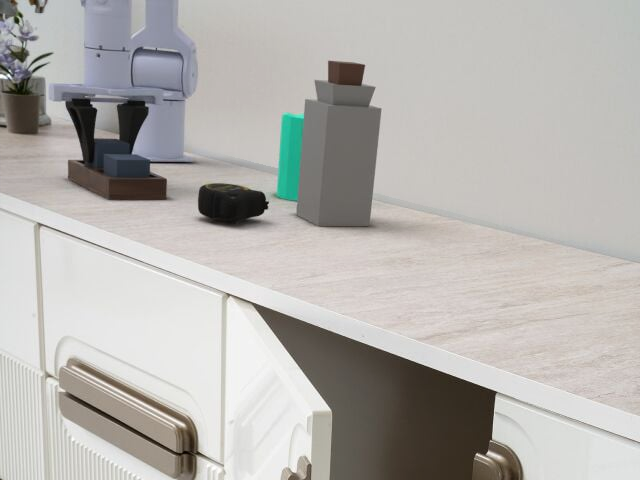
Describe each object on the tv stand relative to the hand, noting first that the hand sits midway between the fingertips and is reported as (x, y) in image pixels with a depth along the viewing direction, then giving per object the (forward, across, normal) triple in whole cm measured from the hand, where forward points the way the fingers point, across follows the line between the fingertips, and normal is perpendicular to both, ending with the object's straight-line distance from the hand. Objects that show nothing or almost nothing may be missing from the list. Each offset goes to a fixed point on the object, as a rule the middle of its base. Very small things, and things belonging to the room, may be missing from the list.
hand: (106, 161), depth 145 cm
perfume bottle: (+3, +19, -25) cm, 32 cm away
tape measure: (+3, +6, -24) cm, 25 cm away
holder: (+3, 0, -3) cm, 4 cm away
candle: (+3, +23, -10) cm, 25 cm away
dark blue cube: (+2, 0, -7) cm, 7 cm away
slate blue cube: (+1, 0, 0) cm, 1 cm away
